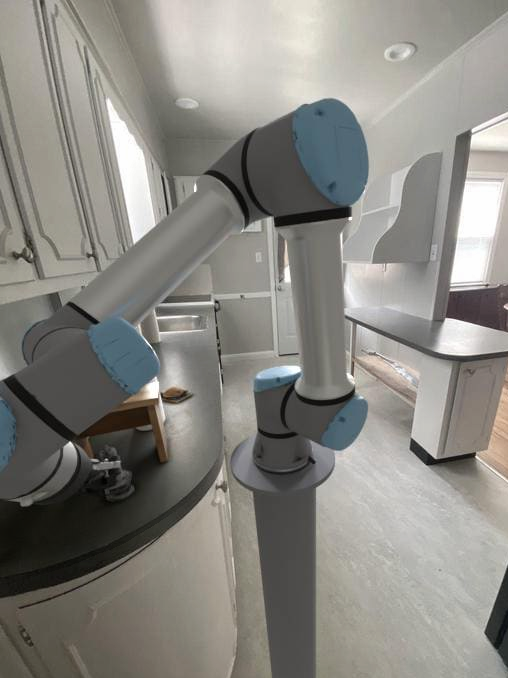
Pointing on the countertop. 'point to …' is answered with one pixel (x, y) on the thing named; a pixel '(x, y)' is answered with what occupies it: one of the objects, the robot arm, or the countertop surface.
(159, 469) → the countertop surface
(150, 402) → the desk
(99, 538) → the countertop surface
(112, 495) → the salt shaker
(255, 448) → the robot arm
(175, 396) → the brown sandwich
